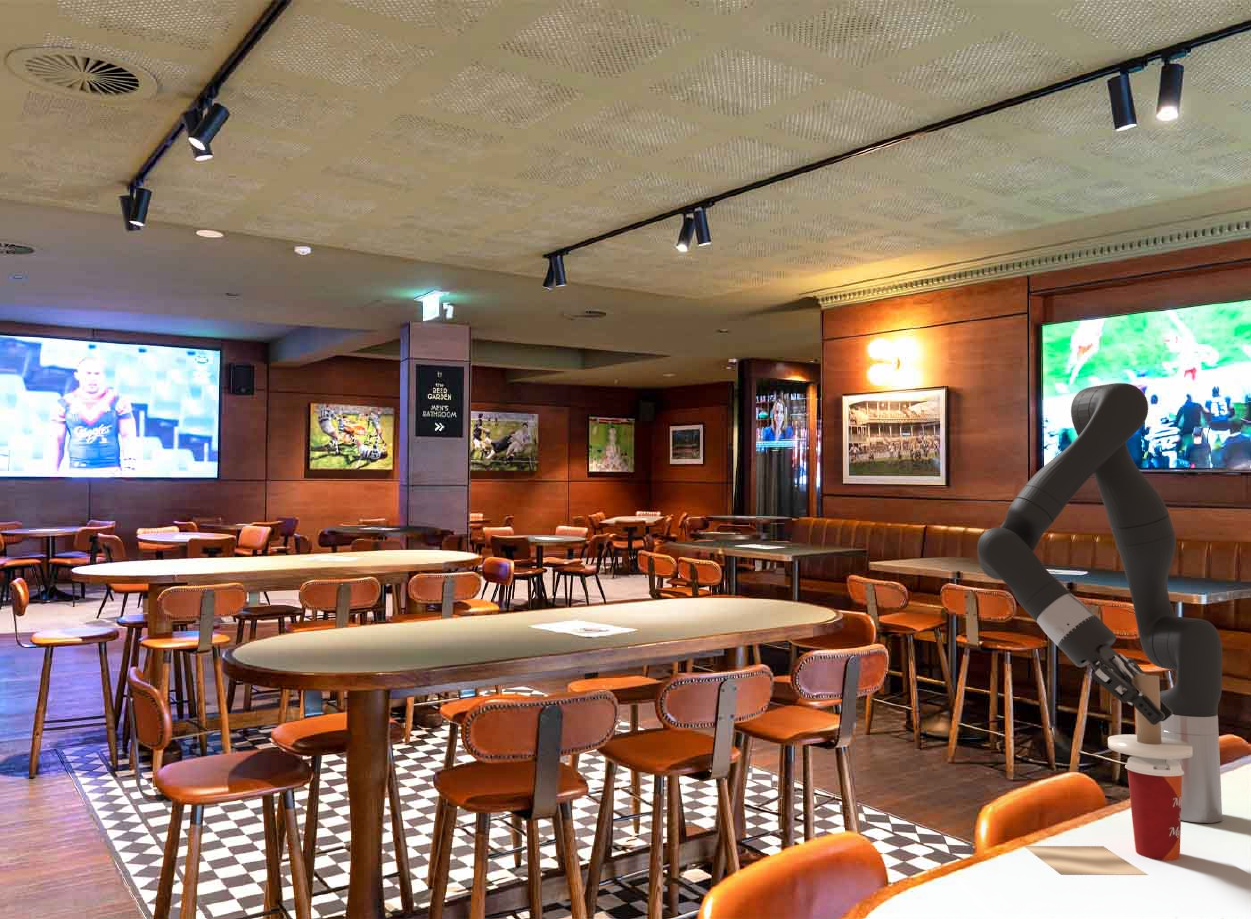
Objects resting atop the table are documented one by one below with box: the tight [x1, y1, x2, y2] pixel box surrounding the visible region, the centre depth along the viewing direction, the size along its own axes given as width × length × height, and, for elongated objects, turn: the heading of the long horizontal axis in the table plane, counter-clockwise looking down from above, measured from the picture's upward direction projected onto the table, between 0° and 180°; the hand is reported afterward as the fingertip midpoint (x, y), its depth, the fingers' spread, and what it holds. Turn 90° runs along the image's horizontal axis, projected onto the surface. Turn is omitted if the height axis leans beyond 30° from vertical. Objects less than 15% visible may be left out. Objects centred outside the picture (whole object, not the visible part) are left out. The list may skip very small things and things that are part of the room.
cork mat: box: [1023, 845, 1149, 876], centre depth 137 cm, size 12×12×1 cm
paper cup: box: [1124, 755, 1184, 862], centre depth 140 cm, size 8×8×14 cm
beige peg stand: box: [1107, 673, 1193, 759], centre depth 142 cm, size 11×11×11 cm
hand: (1163, 719), depth 140 cm, fingers closed on beige peg stand, 3 cm apart
